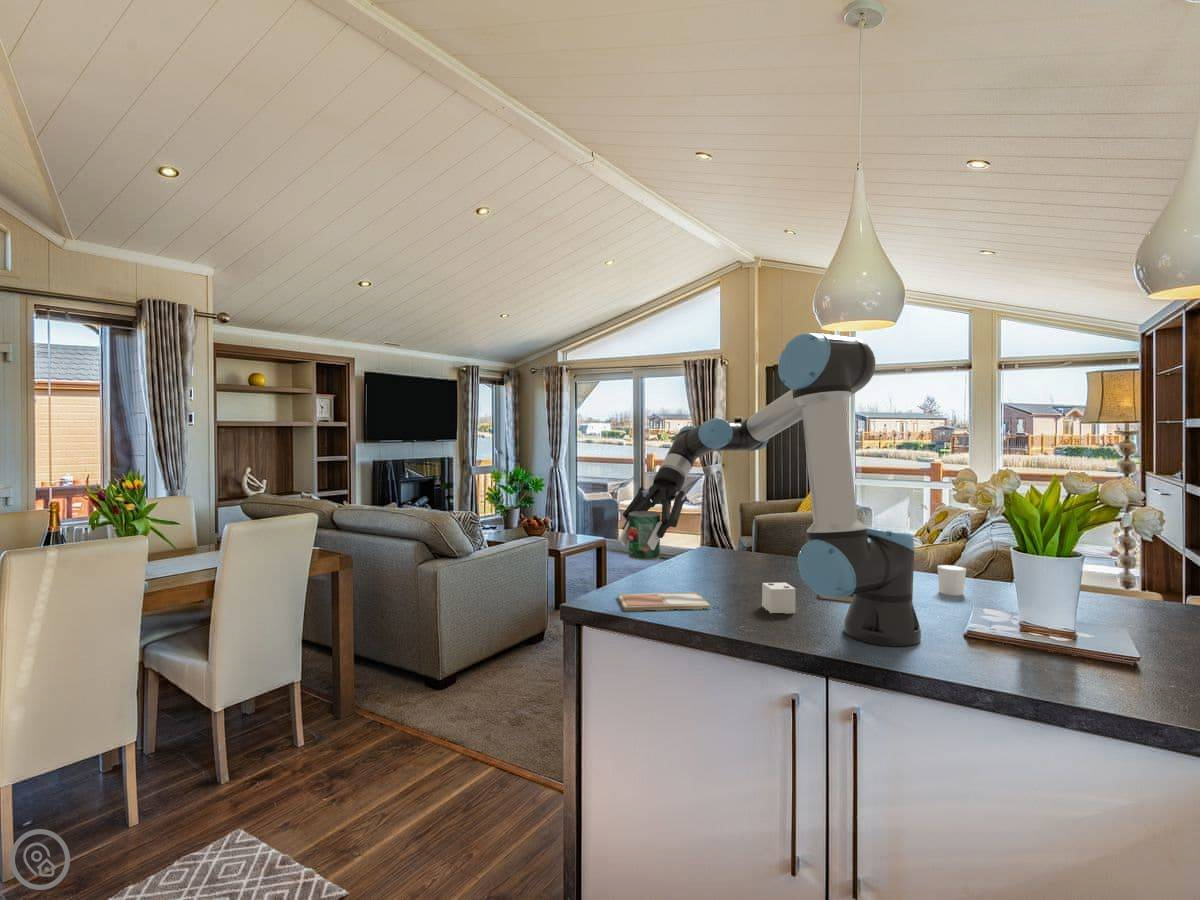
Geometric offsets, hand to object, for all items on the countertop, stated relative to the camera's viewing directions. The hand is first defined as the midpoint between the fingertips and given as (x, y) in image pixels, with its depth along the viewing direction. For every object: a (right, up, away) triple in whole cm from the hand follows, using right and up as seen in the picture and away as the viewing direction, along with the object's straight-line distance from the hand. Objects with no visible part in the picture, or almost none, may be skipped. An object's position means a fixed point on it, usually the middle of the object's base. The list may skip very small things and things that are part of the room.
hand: (636, 544), depth 157 cm
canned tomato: (+2, -4, +3) cm, 5 cm away
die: (+35, -16, -1) cm, 38 cm away
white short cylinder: (+86, -16, +16) cm, 89 cm away
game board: (+7, -15, +4) cm, 17 cm away
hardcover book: (+60, -16, +17) cm, 64 cm away
